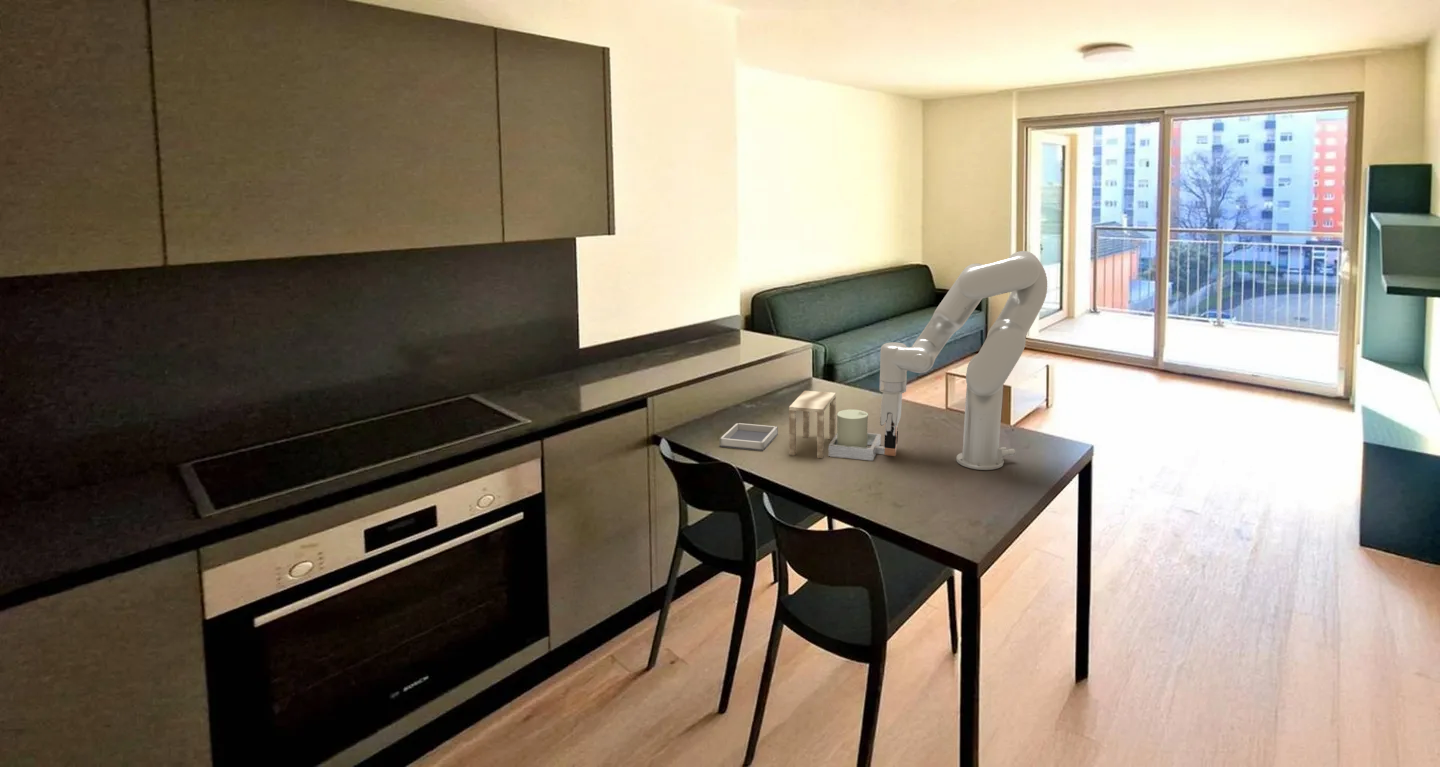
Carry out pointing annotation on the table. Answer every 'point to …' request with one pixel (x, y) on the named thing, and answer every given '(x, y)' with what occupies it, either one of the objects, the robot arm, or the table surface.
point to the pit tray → (749, 436)
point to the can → (852, 428)
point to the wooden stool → (808, 403)
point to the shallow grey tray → (861, 448)
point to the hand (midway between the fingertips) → (890, 445)
